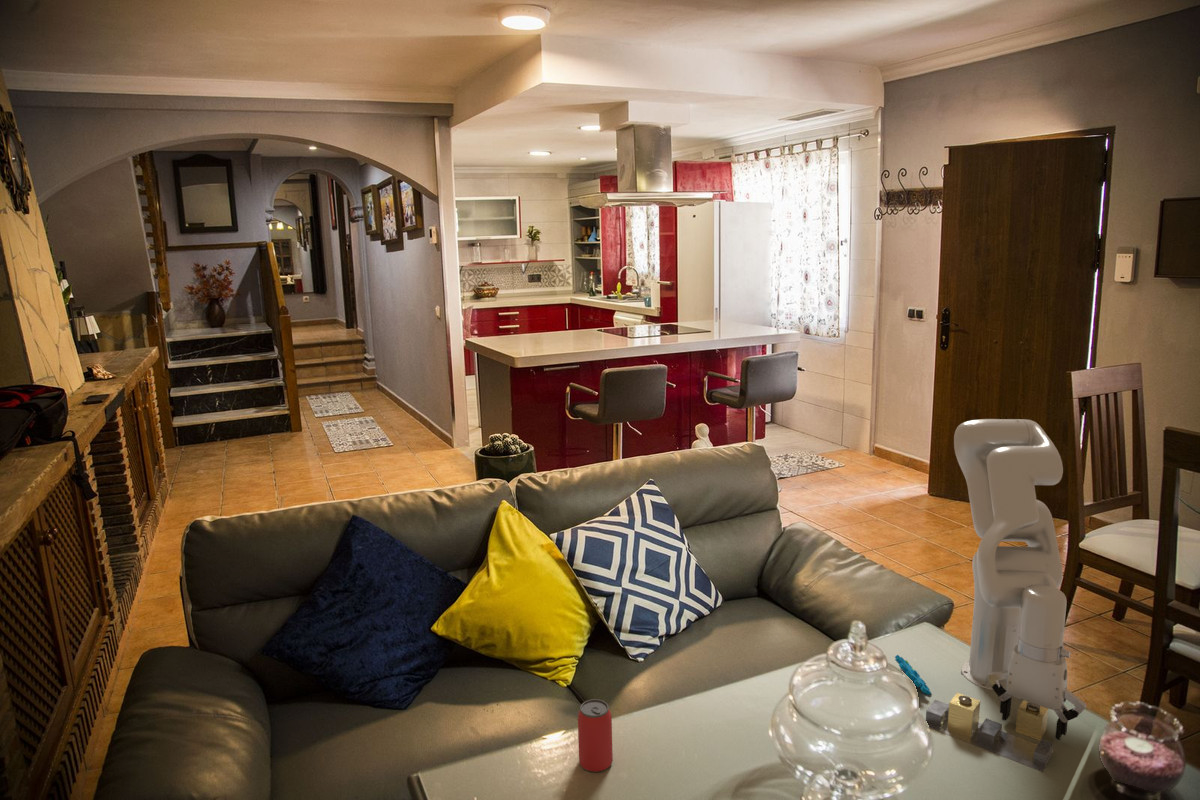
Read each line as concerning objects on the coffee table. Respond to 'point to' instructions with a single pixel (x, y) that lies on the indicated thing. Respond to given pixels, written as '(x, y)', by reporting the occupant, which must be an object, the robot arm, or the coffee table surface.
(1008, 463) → the robot arm
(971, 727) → the seated nut block
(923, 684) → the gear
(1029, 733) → the brass nut block
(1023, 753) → the rail
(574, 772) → the coffee table surface
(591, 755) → the beer can
